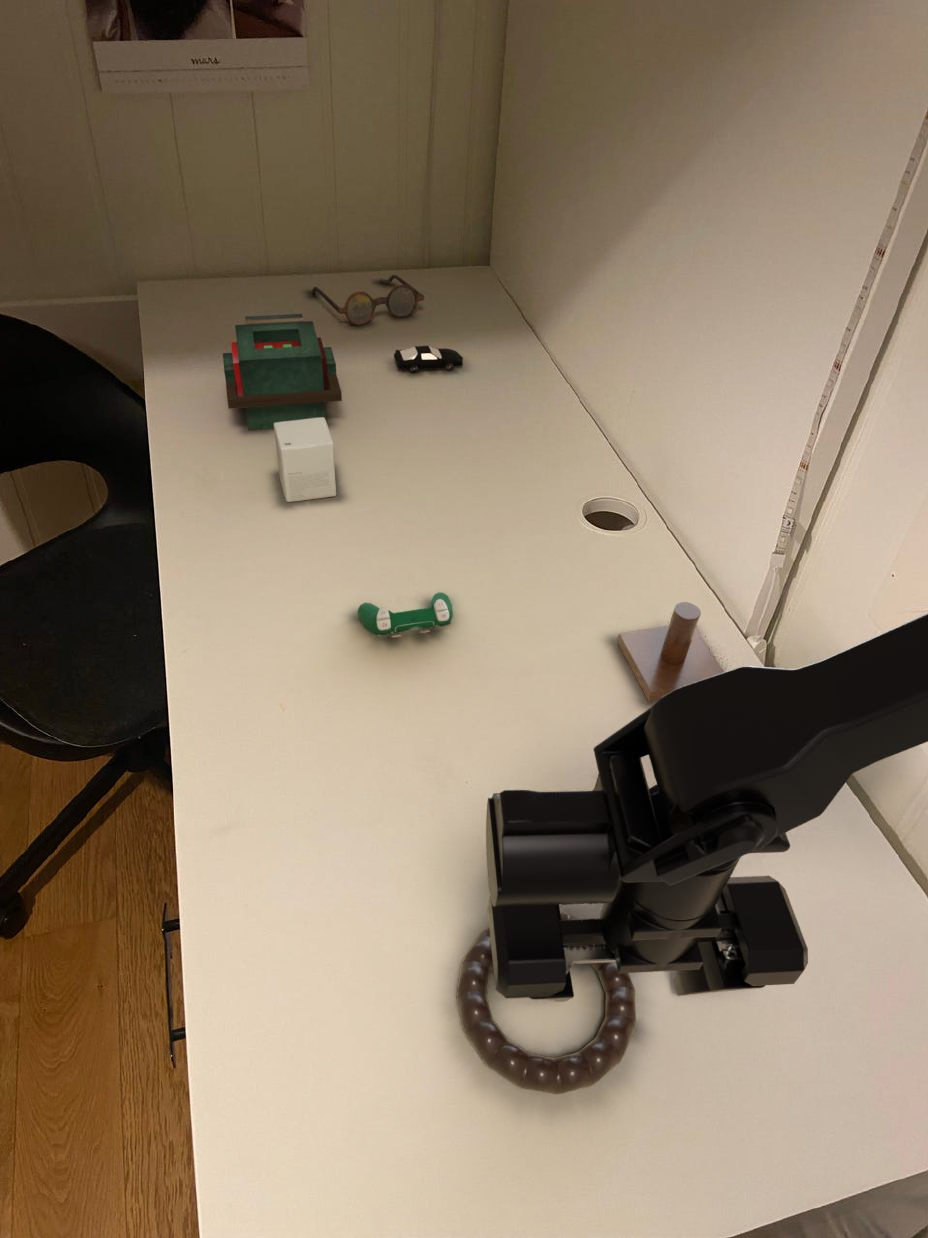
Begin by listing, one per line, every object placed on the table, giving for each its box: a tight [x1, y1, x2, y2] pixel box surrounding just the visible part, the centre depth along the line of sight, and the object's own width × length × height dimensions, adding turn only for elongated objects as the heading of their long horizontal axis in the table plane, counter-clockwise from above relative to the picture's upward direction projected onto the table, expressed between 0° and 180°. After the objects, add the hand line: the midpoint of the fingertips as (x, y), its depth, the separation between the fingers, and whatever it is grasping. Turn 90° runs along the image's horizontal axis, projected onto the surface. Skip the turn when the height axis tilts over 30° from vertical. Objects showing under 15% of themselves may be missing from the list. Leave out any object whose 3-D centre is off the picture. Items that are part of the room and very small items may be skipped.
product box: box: [273, 417, 337, 503], centre depth 98 cm, size 6×6×7 cm
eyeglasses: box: [311, 274, 425, 326], centre depth 137 cm, size 15×15×5 cm
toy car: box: [393, 345, 464, 374], centre depth 123 cm, size 10×4×3 cm, turn 104°
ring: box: [456, 911, 637, 1095], centre depth 57 cm, size 12×12×2 cm
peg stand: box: [616, 601, 725, 702], centre depth 79 cm, size 8×8×7 cm
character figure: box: [222, 313, 343, 432], centre depth 112 cm, size 14×14×20 cm
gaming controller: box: [357, 591, 454, 639], centre depth 82 cm, size 9×4×6 cm
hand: (619, 991), depth 57 cm, fingers open, 8 cm apart
